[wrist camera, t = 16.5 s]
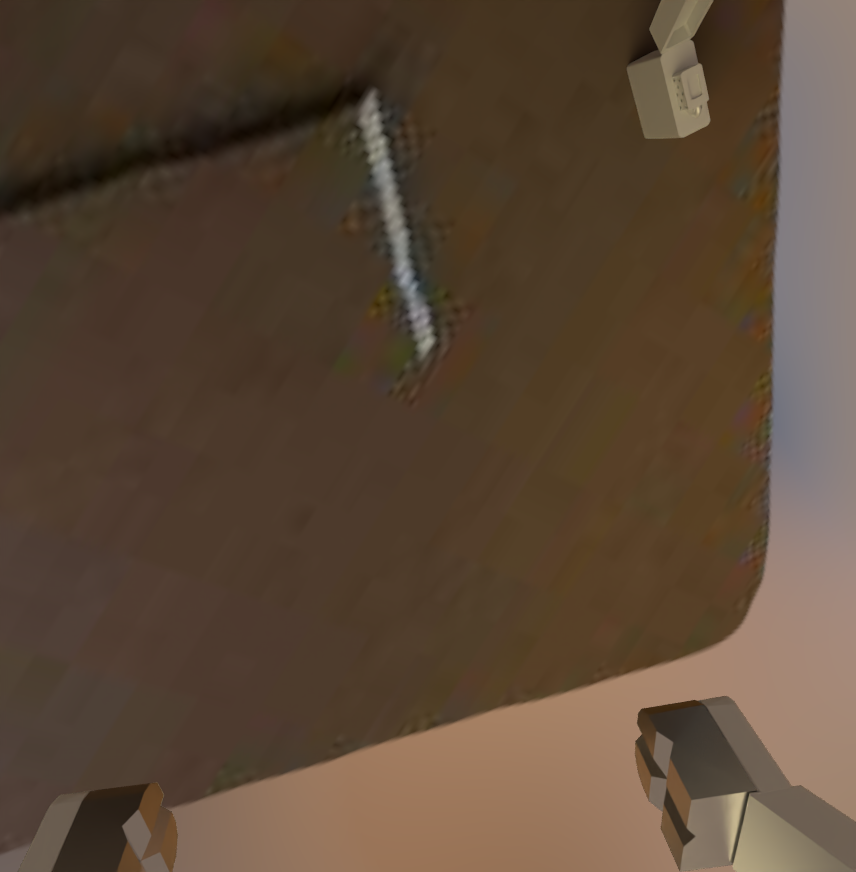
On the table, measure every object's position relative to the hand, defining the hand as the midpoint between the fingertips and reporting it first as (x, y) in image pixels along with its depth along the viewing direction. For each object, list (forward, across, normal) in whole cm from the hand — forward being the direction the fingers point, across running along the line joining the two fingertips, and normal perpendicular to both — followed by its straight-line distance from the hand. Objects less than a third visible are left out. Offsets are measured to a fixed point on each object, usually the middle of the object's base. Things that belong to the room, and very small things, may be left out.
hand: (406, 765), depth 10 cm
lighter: (+31, -17, -12) cm, 38 cm away
